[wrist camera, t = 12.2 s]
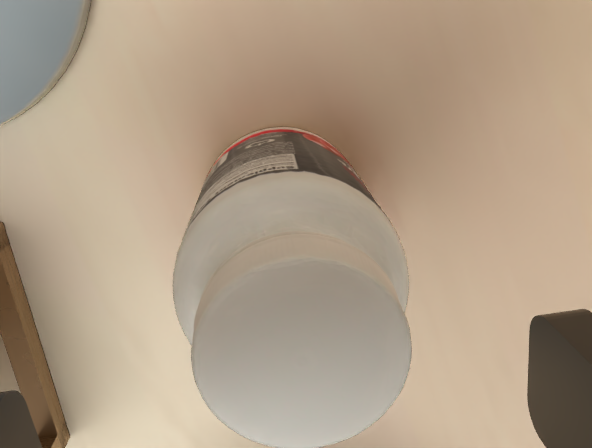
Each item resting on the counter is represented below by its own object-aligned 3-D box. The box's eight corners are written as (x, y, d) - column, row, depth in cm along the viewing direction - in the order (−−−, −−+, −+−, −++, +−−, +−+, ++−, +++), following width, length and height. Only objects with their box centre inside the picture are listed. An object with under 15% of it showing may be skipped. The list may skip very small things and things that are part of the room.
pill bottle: (386, 224, 19) (500, 398, 10) (258, 299, 20) (256, 526, 11) (307, 91, 18) (358, 156, 9) (170, 178, 18) (80, 325, 9)
